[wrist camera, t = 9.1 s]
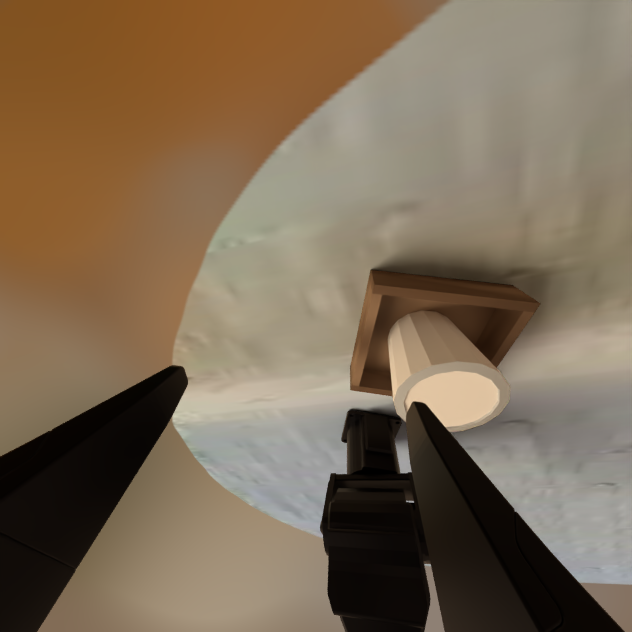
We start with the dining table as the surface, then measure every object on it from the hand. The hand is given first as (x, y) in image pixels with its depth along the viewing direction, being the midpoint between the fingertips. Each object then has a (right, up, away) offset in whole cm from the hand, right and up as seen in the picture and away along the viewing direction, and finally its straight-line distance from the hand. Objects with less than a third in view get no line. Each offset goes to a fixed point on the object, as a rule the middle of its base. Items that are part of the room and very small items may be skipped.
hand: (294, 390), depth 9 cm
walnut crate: (+10, +1, +12) cm, 16 cm away
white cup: (+10, +1, +12) cm, 16 cm away
